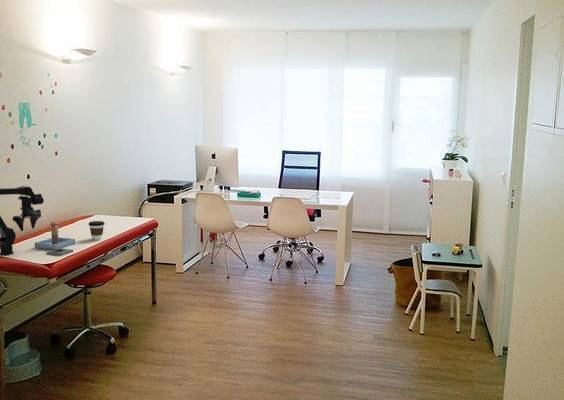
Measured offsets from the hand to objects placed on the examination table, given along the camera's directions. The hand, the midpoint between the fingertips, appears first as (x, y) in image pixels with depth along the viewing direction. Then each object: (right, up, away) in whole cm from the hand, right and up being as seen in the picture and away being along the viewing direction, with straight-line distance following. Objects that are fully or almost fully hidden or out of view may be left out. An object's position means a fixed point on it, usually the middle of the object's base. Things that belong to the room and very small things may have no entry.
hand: (27, 229), depth 352 cm
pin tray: (+12, -11, +13) cm, 21 cm away
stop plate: (+23, -14, -5) cm, 27 cm away
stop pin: (+12, -11, +13) cm, 21 cm away
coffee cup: (+32, -9, +37) cm, 50 cm away
